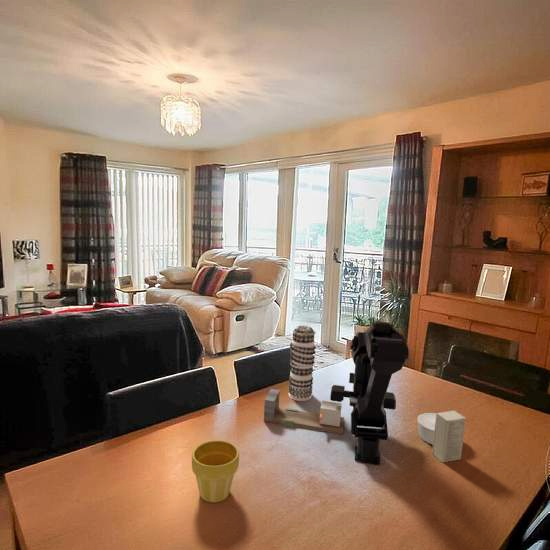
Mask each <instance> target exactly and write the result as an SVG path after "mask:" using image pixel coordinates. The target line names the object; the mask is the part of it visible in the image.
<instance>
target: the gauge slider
mask: <svg viewBox="0 0 550 550" xmlns="http://www.w3.org/2000/svg"><path fill="white" fill-rule="evenodd" d="M342 404H343V403H342V402H336V401H327V400H321V404H320V411H319V414H320V417H319V420H320V424H325V425H332V426H338V427H340V419H341V417H342V416H341V415H342Z"/></svg>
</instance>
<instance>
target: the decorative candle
mask: <svg viewBox="0 0 550 550" xmlns="http://www.w3.org/2000/svg"><path fill="white" fill-rule="evenodd" d="M291 331H292V339H291V342H290V344H289V348H290V350H289V353H290V354H289V358H290V359H289V365H290V368H291V369H290V373H289V374H290V375H289V376H288V383H289V384H288V389H287V390H288V397H289V398H290V399H292V400H294V401H298V402H304V401H305V402H306V401H309V400H311V399H312V397H313V395H312V394H313V390H314V389H313V384H314V382H313V381H314V377H313V367H314V366H315V359H316V357H315V356H314V355H315V354H316V349H317V347H316V346H315V334H316V331H315V330H314V329H313V328H312V327H311V326H308V325H298V326H296V327H295V328H294V329H292V330H291Z"/></svg>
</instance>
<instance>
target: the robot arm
mask: <svg viewBox="0 0 550 550" xmlns="http://www.w3.org/2000/svg"><path fill="white" fill-rule="evenodd" d="M349 350H350V355H351V358H352V360H353V363H354V372H349V379H348V383H349V384H352V385H353V386H352V390H351V391H350V390H345V385H338V384H333V385H332V386H331V388H330V389H331V390H330V397H329V400H330V402H336V403H342V402H343V401H344V399H345V398H348V399H349V406H350V407H353V408H352V411H351V412H350V434H351V435H352V436H353V437H354V438H355V439H357V443H356V444H357V445H355V447H354V461H356V462H361V463H367V464H373V465H378V466H379V465H381V452H380V443H381V440H384V441H388V437H389V431H388V419H387V412H386V409H387V410H392V411H394V410H396V409H397V408H396V407H397V398H396V395H395V394H394V392H390V391H388V388H389V386H390V383H391V380H392V376H393V375H394V374H395V373H398V372H399V371H401V370H402V369H403V367H404V365H405V363H406V361H408V358H409V353H410V352H409V345H408V343H407V341H406V338H405V336H404V335H403V334H402V333H400V332H399V331H397V330H396V329H395V328H394V326H393V323H390V322H389V321H387V322H385V321H372V322H370V325H369V328H367V329H366V330H365V331H357V332H356V333H355V335H354V336H353V337H352V339H351V341H350V345H349Z"/></svg>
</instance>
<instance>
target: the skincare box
mask: <svg viewBox="0 0 550 550" xmlns="http://www.w3.org/2000/svg"><path fill="white" fill-rule="evenodd" d="M466 420H467V418H466V417H465V416H464V415H462V414H461V413H459V412H457V410H447V411H440V412H436V422H435V431H434V440H433V445H432V450H431V454H432V455H433V456H434V457H436V458H437V460H439V461H440V462H441V463H449V462H452V461H453V462H454V461H458V460H461V459H462V452H463V445H464V435H465V429H466V427H465V426H466ZM448 461H449V462H448Z"/></svg>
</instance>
